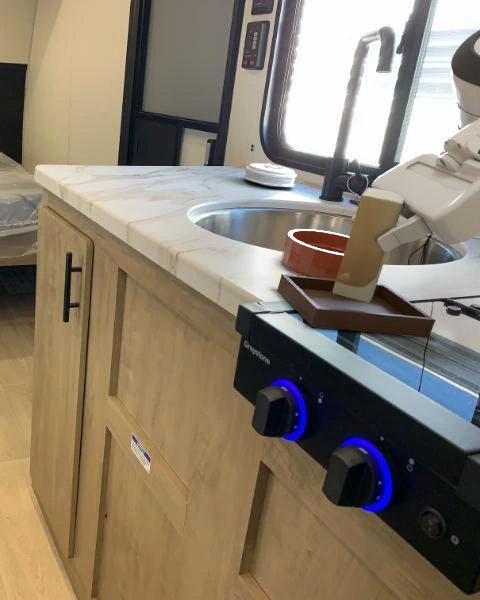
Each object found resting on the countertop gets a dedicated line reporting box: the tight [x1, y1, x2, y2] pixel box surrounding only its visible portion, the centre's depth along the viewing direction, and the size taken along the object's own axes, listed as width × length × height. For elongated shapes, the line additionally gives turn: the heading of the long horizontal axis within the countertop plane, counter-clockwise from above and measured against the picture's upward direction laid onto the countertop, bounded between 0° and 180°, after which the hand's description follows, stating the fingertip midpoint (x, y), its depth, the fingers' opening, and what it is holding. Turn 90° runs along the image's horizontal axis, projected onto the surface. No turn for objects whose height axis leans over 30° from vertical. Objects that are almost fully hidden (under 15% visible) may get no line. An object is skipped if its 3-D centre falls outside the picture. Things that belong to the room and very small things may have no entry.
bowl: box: [281, 228, 350, 279], centre depth 88 cm, size 13×13×4 cm
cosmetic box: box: [332, 187, 404, 303], centre depth 70 cm, size 6×4×12 cm
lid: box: [243, 162, 298, 188], centre depth 152 cm, size 13×13×5 cm
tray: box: [277, 273, 436, 339], centre depth 73 cm, size 14×11×2 cm
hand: (366, 235), depth 70 cm, fingers closed on cosmetic box, 7 cm apart
